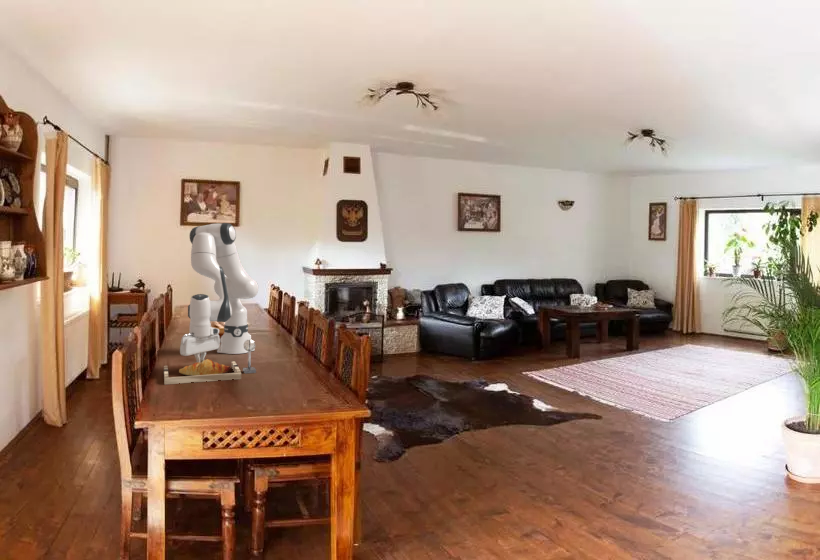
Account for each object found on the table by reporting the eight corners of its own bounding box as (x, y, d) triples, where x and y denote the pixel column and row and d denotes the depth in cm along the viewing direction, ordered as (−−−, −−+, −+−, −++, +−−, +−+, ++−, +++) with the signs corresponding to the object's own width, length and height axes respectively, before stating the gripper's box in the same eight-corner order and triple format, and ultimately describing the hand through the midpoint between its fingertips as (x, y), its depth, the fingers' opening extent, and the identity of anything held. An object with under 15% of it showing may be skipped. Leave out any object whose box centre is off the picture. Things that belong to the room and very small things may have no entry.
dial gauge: (242, 371, 260) (242, 339, 259) (254, 370, 262) (254, 338, 261) (244, 373, 255) (244, 341, 254) (255, 372, 257) (256, 340, 256)
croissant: (178, 384, 248) (177, 370, 243) (180, 369, 256) (178, 355, 252) (230, 381, 253) (229, 367, 249) (230, 366, 262) (230, 352, 257)
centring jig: (163, 372, 254) (163, 364, 253) (235, 367, 266) (235, 360, 265) (164, 384, 233) (164, 376, 233) (241, 378, 245) (241, 370, 245)
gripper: (187, 335, 245) (187, 367, 246) (222, 329, 263) (222, 359, 264) (176, 334, 247) (176, 365, 248) (211, 327, 266) (211, 357, 267)
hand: (200, 362), depth 256 cm, fingers closed
